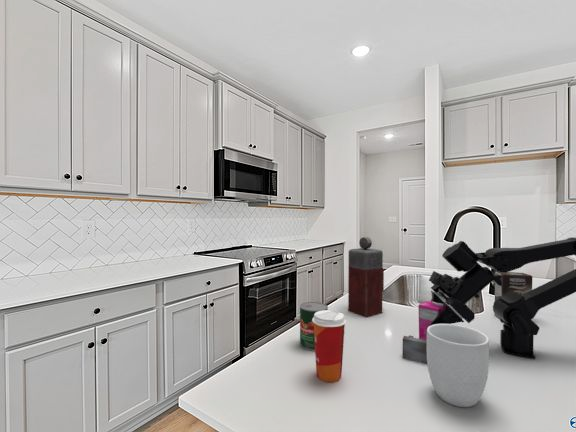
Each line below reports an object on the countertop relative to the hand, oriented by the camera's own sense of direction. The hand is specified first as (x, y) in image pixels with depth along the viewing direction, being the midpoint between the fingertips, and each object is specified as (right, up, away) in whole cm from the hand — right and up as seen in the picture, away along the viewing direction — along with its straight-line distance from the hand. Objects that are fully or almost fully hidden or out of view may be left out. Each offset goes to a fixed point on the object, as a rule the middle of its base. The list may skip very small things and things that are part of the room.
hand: (427, 320), depth 86 cm
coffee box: (+39, -7, +20) cm, 44 cm away
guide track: (-2, -7, -6) cm, 9 cm away
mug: (-5, -7, -24) cm, 25 cm away
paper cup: (-30, -7, -16) cm, 35 cm away
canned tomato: (-32, -7, 0) cm, 33 cm away
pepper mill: (-10, -6, +28) cm, 31 cm away
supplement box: (+1, -7, 0) cm, 7 cm away
